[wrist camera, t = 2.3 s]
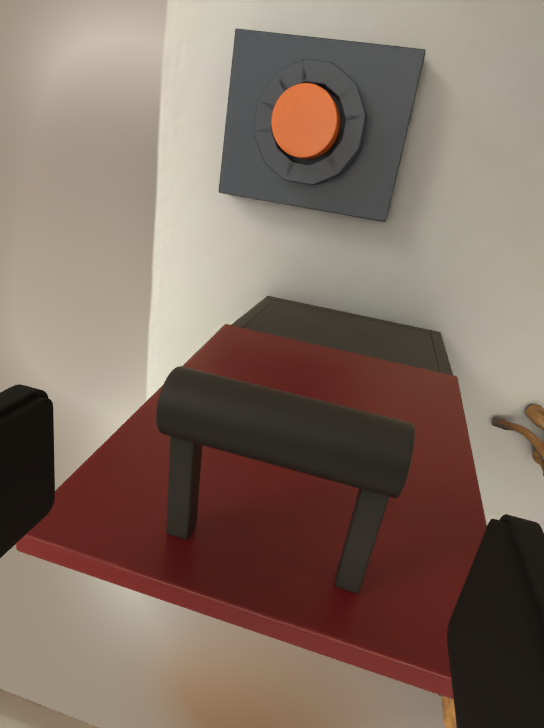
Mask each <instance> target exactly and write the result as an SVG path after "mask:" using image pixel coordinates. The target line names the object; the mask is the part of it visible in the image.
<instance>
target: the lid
mask: <svg viewBox="0 0 544 728" xmlns="http://www.w3.org/2000/svg"><path fill="white" fill-rule="evenodd" d="M486 528H487V525H486V520H485V515H484V510H483V505H482V500H481V495H480V490H479V485H478V480H477V475H476V470H475V465H474V460H473V454H472V449H471V444H470V439H469V434H468V429H467V424H466V419H465V414H464V409H463V404H462V399H461V394H460V389H459V384H458V378H457V376H453V375H449V374H444V373H440V372H435V371H431V370H427V369H422V368H418V367H413V366H409V365H404V364H400V363H396V362H391V361H387V360H382V359H378V358H373V357H369V356H365V355H360V354H356V353H351V352H347V351H342V350H338V349H334V348H329V347H325V346H320V345H316V344H311V343H307V342H303V341H298V340H294V339H289V338H285V337H280V336H276V335H272V334H267V333H263V332H258V331H254V330H249V329H245V328H241V327H236V326H232V325H227V324H225V325H224V326H223V327H222V328H221V329H220V330H219V331H218V332H217V333H216V334H215V335H214V336H213V337H212V338H211V339H210V340H209V341H208V342H207V343H206V344H205V345H203V346H202V347H201V348H200V349H199V350H198V351H197V352H196V353H195V354H194V355H193V356H192V357H191V358H190V359H189V360H188V361H187V362H186V363H185V364H184V365H183V366H180V367H176V368H175V369H174V370H172V372H171V373H170V374H169V376H168V377H167V379H166V381H165V383H164V385H163V386H162V387H161V388H160V389H159V390H158V391H157V392H156V393H155V394H154V395H153V396H151V397H150V398H149V399H148V400H147V401H146V402H145V403H144V405H142V406H141V407H140V408H139V409H138V410H137V411H136V412H135V413H134V414H133V415H132V416H131V417H130V418H129V419H128V420H127V421H126V422H125V423H124V424H123V425H122V426H121V427H120V428H119V429H118V430H117V431H116V432H115V433H114V434H113V435H112V436H111V437H110V438H109V439H108V440H107V441H106V442H105V443H104V444H103V445H102V446H101V447H100V448H98V449H97V450H96V451H95V452H94V453H93V454H92V455H91V456H90V457H89V458H88V459H87V460H86V461H85V462H84V463H83V464H82V465H81V466H80V467H79V468H78V469H77V470H76V471H75V472H74V473H73V474H72V475H71V476H70V477H69V478H68V479H67V480H66V481H65V482H64V483H63V484H62V485H61V486H60V487H59V488H58V489H57V490H56V491H55V501H54V504H53V507H52V509H51V510H50V512H49V513H48V514H47V516H45V517H44V518H43V519H42V520H41V521H40V522H39V523H38V524H37V525H36V526H35V527H33V528H32V529H31V530H30V531H29V532H28V533H27V534H26V535H25V536H24V537H23V538H21V539H20V540H19V541H18V542H17V543H16V549H17V550H18V551H20V552H23V553H26V554H29V555H32V556H35V557H37V558H40V559H43V560H46V561H49V562H52V563H55V564H58V565H61V566H64V567H67V568H70V569H73V570H76V571H79V572H81V573H84V574H87V575H90V576H93V577H96V578H99V579H102V580H105V581H108V582H111V583H114V584H117V585H120V586H122V587H125V588H128V589H131V590H134V591H137V592H140V593H143V594H146V595H149V596H152V597H155V598H157V599H160V600H164V601H166V602H169V603H172V604H175V605H178V606H181V607H184V608H187V609H190V610H193V611H196V612H198V613H201V614H204V615H207V616H210V617H213V618H216V619H219V620H222V621H225V622H228V623H231V624H234V625H237V626H240V627H243V628H245V629H248V630H252V631H254V632H257V633H260V634H263V635H266V636H269V637H272V638H275V639H278V640H281V641H283V642H286V643H289V644H292V645H295V646H298V647H301V648H304V649H307V650H310V651H313V652H316V653H319V654H321V655H325V656H328V657H330V658H333V659H336V660H339V661H342V662H345V663H348V664H351V665H354V666H357V667H360V668H363V669H366V670H368V671H371V672H374V673H377V674H380V675H383V676H386V677H389V678H392V679H395V680H398V681H401V682H403V683H406V684H409V685H412V686H415V687H418V688H421V689H424V690H427V691H430V692H433V693H436V694H439V695H441V696H444V697H447V698H450V699H453V690H452V681H451V673H450V664H449V655H448V646H447V630H448V624H449V621H450V618H451V615H452V613H453V610H454V608H455V605H456V603H457V600H458V598H459V595H460V593H461V590H462V588H463V585H464V583H465V580H466V578H467V575H468V573H469V570H470V568H471V565H472V563H473V560H474V558H475V555H476V553H477V550H478V548H479V545H480V543H481V540H482V538H483V535H484V533H485V530H486ZM453 700H454V699H453Z"/></svg>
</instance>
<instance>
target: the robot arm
mask: <svg viewBox="0 0 544 728" xmlns="http://www.w3.org/2000/svg"><path fill="white" fill-rule="evenodd" d="M53 430H54V428H53V403H52V401H51V400H50V399H48V396H47V394H46V392H44V391H43V390H39V389H36V388H32V387H28V386H24V385H15V386H13V387H11V388H9V389H7V390H5V391H3V392H1V393H0V558H1V557H2V556H3V555H4V554H5V553H6V552H7V551H8V550H9V549H11V548H12V547H13V546H14V545H15V544H16V543H17V542H18V541H19V540H20V539H21V538H23V537H24V536H25V535H26V534H27V533H28V532H29V531H30V530H31V529H32V528H33V527H35V526H36V525H37V524H38V523H39V522H40V521H41V520H42V519H43V518H44V517H45V516H47V514H48V513H49V512H50V510H51V509H52V507H53V504H54V501H55V479H54V431H53ZM447 646H448V655H449V664H450V673H451V681H452V690H453V699H454V707H455V716H456V725H457V728H544V533H543V531H542V528H541V527H540V525H539V524H538V523H536V522H533V521H529V520H525V519H521V518H518V517H514V516H510V515H506V514H505V515H503V516H502V517H501V518H500V520H495V519H491V520H490V522H489V523H488V525H487V528H486V530H485V533H484V535H483V538H482V540H481V543H480V545H479V548H478V550H477V553H476V555H475V558H474V560H473V563H472V565H471V568H470V570H469V573H468V575H467V578H466V580H465V583H464V585H463V588H462V590H461V593H460V595H459V598H458V600H457V603H456V605H455V608H454V610H453V613H452V615H451V618H450V621H449V624H448V630H447ZM0 728H98V727H95V726H93V725H90V724H88V723H85V722H83V721H80V720H78V719H75V718H73V717H70V716H68V715H65V714H63V713H60V712H57V711H55V710H52V709H50V708H47V707H45V706H42V705H40V704H37V703H35V702H32V701H30V700H27V699H24V698H22V697H20V696H17V695H14V694H12V693H9V692H7V691H4V690H2V689H0Z"/></svg>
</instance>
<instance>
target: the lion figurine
mask: <svg viewBox="0 0 544 728" xmlns="http://www.w3.org/2000/svg"><path fill="white" fill-rule="evenodd" d="M526 416H527V417H528V418H530V419H531V421H532V422H533V423H534V424H535V425H536V426H538V427H540V428H542V429H544V410H543V408H542V407H541V406H539V405H535V404H534V405H531V406H529V407H528V408H527V410H526ZM492 425H493V426H496V427H499V428H502V429H505V430H514V431H517V432H519V433H521V434H522V435H524V436H525V437H526V438H527V439H528V440H529V441H530V442H531V443H532V444H533V445H534V447H535V448H536V449H535V450H533V458H534V460H535V462H536V463H538V464H540V465H541V467H542V470H543V476H544V444H543V443H542V442H541V441H540V440H539V439H538V438H537V437H536V436H535V435H534V434H533V433H532V432H531V431H529V430H528V429H526V428H525V427H523V426H521V425H517V424H514V423H510V422H508V421H506V420H504V419H494V420H493V421H492Z"/></svg>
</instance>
